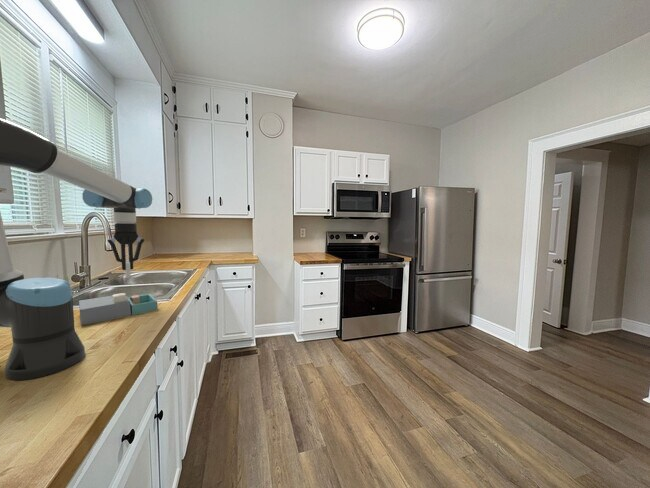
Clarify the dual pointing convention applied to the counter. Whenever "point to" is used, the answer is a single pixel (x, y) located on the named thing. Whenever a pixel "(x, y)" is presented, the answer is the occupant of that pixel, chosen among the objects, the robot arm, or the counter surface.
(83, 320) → the grey flat block
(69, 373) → the counter surface
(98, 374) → the counter surface
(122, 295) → the cream tile
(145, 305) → the bin
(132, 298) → the terracotta tile
